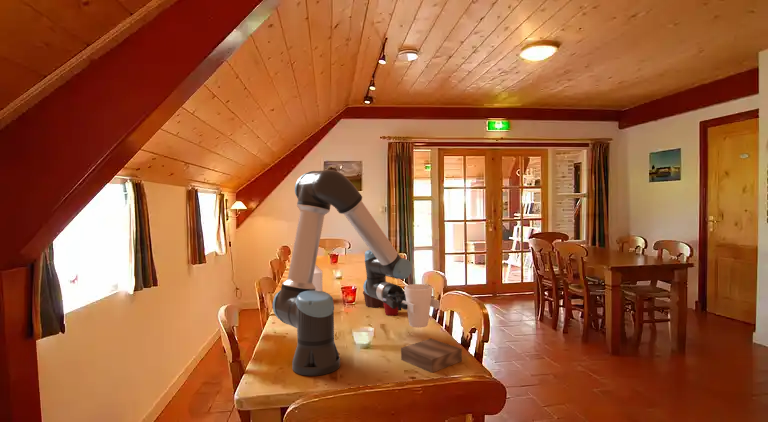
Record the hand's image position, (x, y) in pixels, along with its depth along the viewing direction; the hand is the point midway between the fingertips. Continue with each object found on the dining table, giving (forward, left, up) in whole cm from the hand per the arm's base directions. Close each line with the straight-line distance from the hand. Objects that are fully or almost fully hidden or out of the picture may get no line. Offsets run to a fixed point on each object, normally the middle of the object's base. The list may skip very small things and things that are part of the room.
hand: (426, 306), depth 143 cm
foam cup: (+1, +5, -7) cm, 9 cm away
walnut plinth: (0, -2, -17) cm, 17 cm away
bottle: (+10, +94, -18) cm, 96 cm away
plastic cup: (+27, +49, -18) cm, 58 cm away
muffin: (+31, +67, -18) cm, 75 cm away
